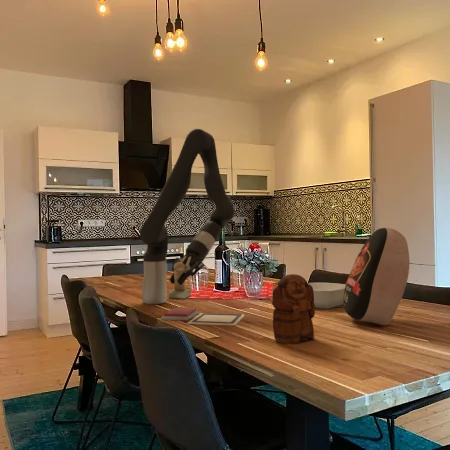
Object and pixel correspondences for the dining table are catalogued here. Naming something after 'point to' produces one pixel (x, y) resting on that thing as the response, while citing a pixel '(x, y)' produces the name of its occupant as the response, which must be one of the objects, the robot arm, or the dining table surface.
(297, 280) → the wooden figurine
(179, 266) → the stamp
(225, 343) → the dining table surface
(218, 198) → the robot arm
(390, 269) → the packaged food
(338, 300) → the square bowl
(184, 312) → the ink pad
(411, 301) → the dining table surface
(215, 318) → the print sheet
